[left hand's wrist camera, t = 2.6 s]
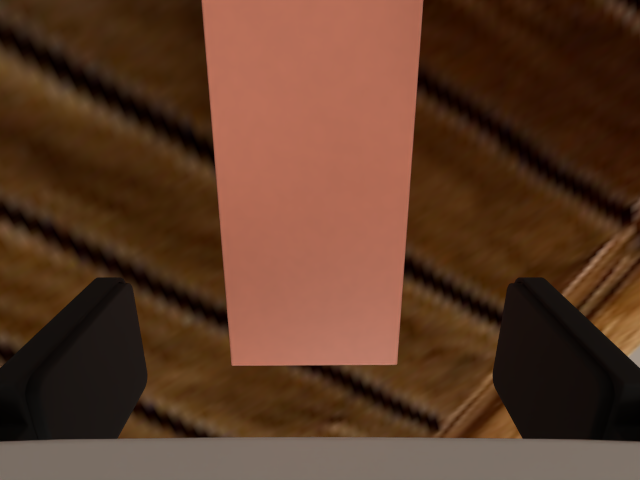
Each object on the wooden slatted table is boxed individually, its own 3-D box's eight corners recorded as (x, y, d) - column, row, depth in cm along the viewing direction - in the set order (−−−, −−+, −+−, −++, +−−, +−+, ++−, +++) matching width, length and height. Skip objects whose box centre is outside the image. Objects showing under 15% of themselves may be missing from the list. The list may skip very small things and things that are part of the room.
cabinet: (237, -162, 19) (171, -361, 10) (388, -161, 19) (449, -359, 10) (259, 269, 25) (231, 365, 17) (370, 268, 26) (397, 365, 17)
